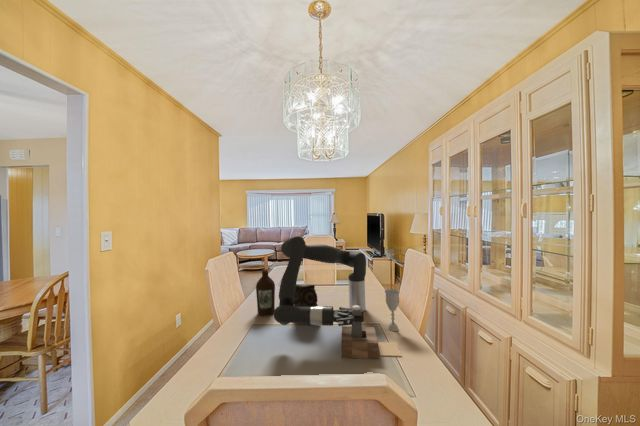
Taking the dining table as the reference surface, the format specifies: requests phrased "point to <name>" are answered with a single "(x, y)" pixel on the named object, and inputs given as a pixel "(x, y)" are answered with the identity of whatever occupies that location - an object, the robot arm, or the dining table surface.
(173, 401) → the dining table surface
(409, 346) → the dining table surface
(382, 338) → the dining table surface
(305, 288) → the brown owl figurine
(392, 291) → the chalice
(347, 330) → the wooden square socket block
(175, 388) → the dining table surface
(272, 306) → the olive oil
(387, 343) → the pad
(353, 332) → the plug
